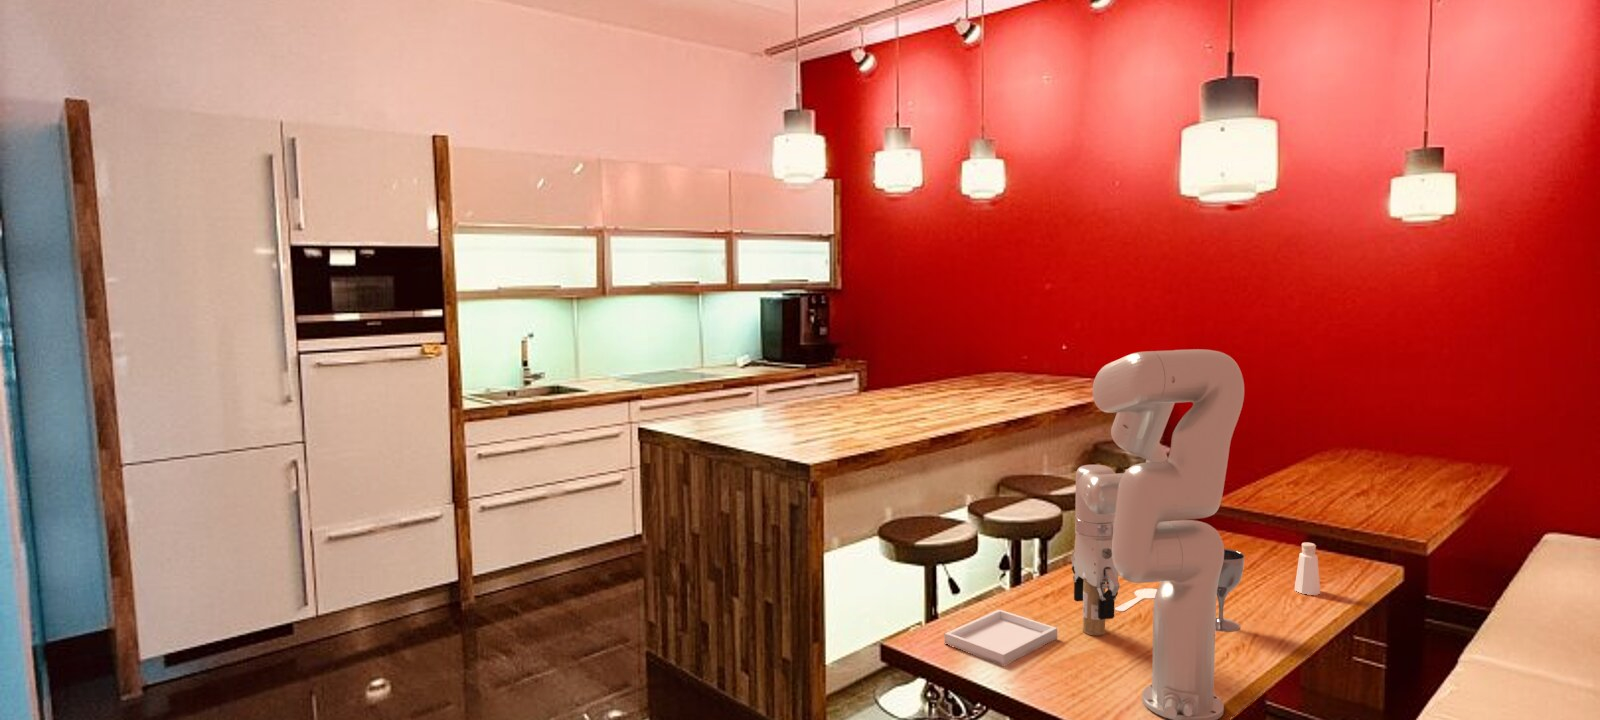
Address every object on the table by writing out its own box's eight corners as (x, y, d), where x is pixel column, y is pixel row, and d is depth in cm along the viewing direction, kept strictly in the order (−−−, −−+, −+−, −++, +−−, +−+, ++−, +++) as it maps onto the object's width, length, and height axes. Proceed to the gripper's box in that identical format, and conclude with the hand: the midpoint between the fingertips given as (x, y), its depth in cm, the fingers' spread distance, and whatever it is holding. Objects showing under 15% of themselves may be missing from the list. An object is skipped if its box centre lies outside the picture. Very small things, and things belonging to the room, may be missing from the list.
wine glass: (1205, 614, 188) (1207, 545, 187) (1246, 622, 183) (1248, 552, 182) (1194, 626, 182) (1196, 555, 181) (1236, 635, 177) (1238, 562, 176)
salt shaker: (1289, 591, 201) (1290, 543, 200) (1300, 585, 204) (1301, 538, 203) (1314, 597, 196) (1316, 549, 195) (1325, 591, 200) (1327, 544, 198)
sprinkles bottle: (1102, 638, 177) (1102, 572, 176) (1079, 633, 180) (1079, 568, 179) (1108, 630, 181) (1109, 566, 180) (1085, 625, 184) (1086, 562, 182)
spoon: (1105, 609, 193) (1105, 606, 193) (1144, 588, 205) (1144, 585, 205) (1129, 615, 189) (1129, 613, 189) (1167, 593, 202) (1167, 591, 202)
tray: (1003, 666, 166) (1003, 654, 166) (944, 644, 176) (944, 633, 176) (1057, 638, 178) (1057, 627, 177) (999, 619, 188) (999, 609, 188)
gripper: (1135, 538, 171) (1133, 624, 173) (1090, 514, 188) (1089, 592, 189) (1099, 541, 169) (1098, 627, 171) (1057, 516, 186) (1056, 595, 188)
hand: (1093, 609), depth 180 cm, fingers open, 9 cm apart
